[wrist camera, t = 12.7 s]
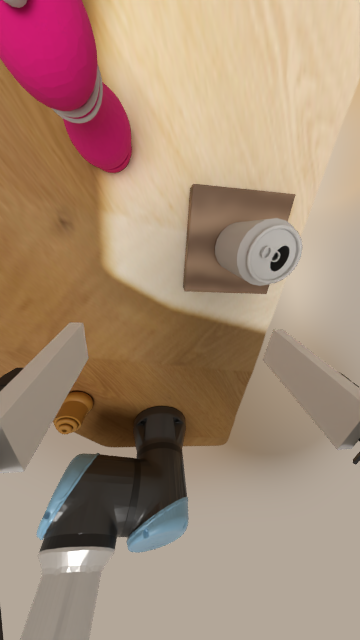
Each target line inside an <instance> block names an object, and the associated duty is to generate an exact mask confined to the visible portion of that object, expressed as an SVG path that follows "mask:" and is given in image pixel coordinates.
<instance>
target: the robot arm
mask: <svg viewBox="0 0 360 640" xmlns="http://www.w3.org/2000/svg"><path fill="white" fill-rule="evenodd" d="M87 360H88V352H87V345H86V339H85V332H84V326H83V323H73V322H70V323H69V324H68V325H67V326H66V327H65V328H64V329H63V330H62V331H61V332H60V333H59V334H58V335H57V336H56V337H55V338H54V339H53V340H52V341H51V342H50V343H49V344H48V345H47V346H46V347H45V348H44V349H43V350H42V351H41V352H40V353H39V354H38V355H37V356H36V357H35V358H34V359H33V360H32V361H31V362H30V363H29V364H28V365H27V366H26V367H25V368H15V369H14V370H12V371H10V372H9V373H7V374H5V375H3V376H2V377H1V378H0V473H9V472H23V471H25V469H26V467H27V465H28V464H29V462H30V460H31V458H32V456H33V455H34V453H35V451H36V450H37V448H38V446H39V444H40V443H41V441H42V439H43V437H44V435H45V434H46V432H47V430H48V428H49V427H50V425H51V423H52V421H53V420H54V418H55V416H56V414H57V413H58V411H59V409H60V407H61V406H62V404H63V402H64V400H65V399H66V397H67V395H68V393H69V392H70V390H71V388H72V386H73V385H74V383H75V381H76V379H77V377H78V376H79V374H80V372H81V370H82V369H83V367H84V365H85V363H86V362H87ZM263 361H264V362H265V363H266V364H267V365H268V367H269V368H270V369H271V370H272V372H273V373H274V374H275V375H276V376H277V378H278V379H279V380H280V381H281V382H282V384H283V385H284V386H285V387H286V388H287V389H288V391H289V392H290V393H291V394H292V396H293V397H294V398H295V399H296V401H297V402H298V403H299V404H300V405H301V407H302V408H303V409H304V410H305V411H306V413H307V414H308V415H309V416H310V417H311V419H312V420H313V421H314V422H315V423H316V425H317V426H318V427H319V428H320V429H321V431H322V432H323V433H324V434H325V435H326V437H327V438H328V439H329V440H330V442H331V443H332V444H333V445H334V446H335V448H336V449H337V450H340V449H352V448H353V446H354V445H355V444H356V443H357V442H358V440H359V441H360V388H359V386H357V385H356V384H355V383H353V382H351V380H349V379H348V378H347V377H345V376H344V375H343V374H341V373H339V372H338V371H336V370H335V369H334V368H332V367H331V366H330V365H329V364H327V363H326V362H325V361H323V360H322V359H321V358H319V357H318V356H317V355H315V354H314V353H313V352H312V351H310V350H309V349H308V348H306V347H305V346H304V345H302V344H301V343H300V342H298V341H297V340H296V339H295V338H293V337H292V336H291V335H289V334H288V333H287V332H285V331H284V330H276V329H274V330H273V332H272V335H271V338H270V341H269V344H268V346H267V349H266V352H265V355H264V358H263ZM185 430H186V425H185V418H184V416H183V414H182V413H181V412H180V411H178V410H176V409H174V408H171V407H165V406H159V407H153V408H149V409H147V410H145V411H143V412H141V413H140V414H139V415H138V416H137V417H136V419H135V421H134V428H133V434H134V439H135V444H136V449H137V459H135V458H127V457H118V456H108V455H100V454H99V453H97V454H79V455H77V456H76V457H75V458H74V459H73V460H72V461H71V462H70V464H69V466H68V467H67V469H66V471H65V473H64V474H63V476H62V478H61V480H60V482H59V484H58V486H57V488H56V490H55V492H54V494H53V496H52V498H51V500H50V502H49V504H48V507H47V510H46V512H45V514H44V516H43V518H42V520H41V522H40V525H39V528H38V530H37V537H39V539H40V540H43V538H44V541H43V543H42V546H41V549H40V552H39V554H38V558H39V562H40V565H41V568H42V577H41V580H40V583H39V586H38V589H37V592H36V595H35V598H34V600H33V603H32V606H31V609H30V612H29V615H28V618H27V621H26V624H25V627H24V630H23V633H22V635H21V638H20V640H89V636H90V631H91V625H92V620H93V614H94V609H95V604H96V598H97V593H98V588H99V582H100V577H101V572H102V570H103V568H104V566H105V565H106V563H107V562H108V561H109V559H110V558H111V557H112V555H113V554H114V551H115V544H116V538H117V537H128V539H127V545H128V550H129V551H131V552H145V551H149V550H153V549H156V548H159V547H162V546H165V545H167V544H169V543H171V542H173V541H175V540H176V539H178V538H179V537H181V536H182V535H183V534H184V532H185V531H186V529H187V526H188V498H187V493H186V483H185V474H184V464H183V455H182V446H183V441H184V435H185ZM358 461H360V452H359V453H358V454H357V455H356V457H355V458H354V459H353V463H354V464H357V463H358ZM0 640H3V631H2V620H1V609H0Z"/></svg>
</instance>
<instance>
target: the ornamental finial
mask: <svg viewBox="0 0 360 640" xmlns="http://www.w3.org/2000/svg"><path fill="white" fill-rule="evenodd" d="M92 407H93V400H92V398H91V397H90V396H89V395H88V394H86V393H83V392H71V393H69V394H68V395H67V397H66V399H65V400H64V402H63V404H62V406H61V409H60V411H59V413H58V415H57V417H56V419H55V421H54V425H55V427H56V429H57V430H58V431H59V432H60V433H62V434H68V433H72V432H74V431H76V430H78V429H79V428H80V427H81V425H82V423H83V420H84V418H85V416H86V414H88V413H89V412H90V411H91V409H92Z"/></svg>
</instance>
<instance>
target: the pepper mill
mask: <svg viewBox="0 0 360 640" xmlns="http://www.w3.org/2000/svg"><path fill="white" fill-rule="evenodd" d="M0 58H1V60H2V61H3V63H4V64H5V66H6V67H7V69H8V70H9V71H10V72H11V74H12V75H13V76H14V78H15V79H16V80H17V81H18V82H19V83H20V85H21V86H22V87H23V88H24V89H25V90H26V91H27V92H28V93H30V94H31V95H32V96H33V97H34V98H35V99H37V100H38V101H39V102H41V103H43V104H45V105H46V106H48V107H50V108H52V109H53V110H54V111H55V112H56V113H57V114H58V115H59V116H60V117H62V118H63V120H64V124H65V127H66V130H67V132H68V135H69V137H70V139H71V141H72V143H73V145H74V146H75V147H76V149H77V150H78V152H79V153H80V154H81V155H82V156H83V158H84V159H85V160H87V161H88V162H89V163H90V164H92V165H94V166H96V167H98V168H101V169H102V170H104V171H106V172H110V173H116V172H119V171H121V170H123V169H124V168H125V167H126V166H127V164H128V163H129V160H130V157H131V151H132V147H131V129H130V124H129V120H128V117H127V115H126V113H125V110H124V108H123V106H122V104H121V103H120V101H119V99H118V98H117V96H116V95H115V94H114V93H113V92H112V91H111V90H110V89H109V88H108V87H107V86H106V85H105V84H104V83H103V82H102V78H101V74H100V70H99V67H98V64H97V50H96V45H95V39H94V35H93V31H92V27H91V24H90V21H89V18H88V15H87V12H86V10H85V7H84V5H83V2H82V0H0Z"/></svg>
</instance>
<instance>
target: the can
mask: <svg viewBox="0 0 360 640" xmlns="http://www.w3.org/2000/svg"><path fill="white" fill-rule="evenodd" d="M301 252H302V242H301V237H300V235H299V233H298V231H296V230H295V229H294V227H293V226H292V225H291V224H290V223H288V222H287V221H286V220H282V219H278V218H273V219H264V220H254V221H245V222H236V223H233V224H231V225H229V226H227V227H226V228H225V229H224V230H223V231H222V232H221V233H220V235H219V237H218V238H217V241H216V245H215V255H216V258H217V261H218V262H219V264H220V265H221V266H222V267H223V268H225V269H227V270H228V271H230V272H232V273H233V274H235V275H237V276H239V277H240V278H242V279H244V280H245V281H247V282H249V283H250V284H253V285H258V286H262V285H269V284H271V283H276V282H278V281H280V280H283V279H284V278H285V277H287V276H288V275H289V274H290V273H291V272H292V271H293V270H294V268H295V267H296V266H297V264H298V261H299V260H300V257H301Z"/></svg>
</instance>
